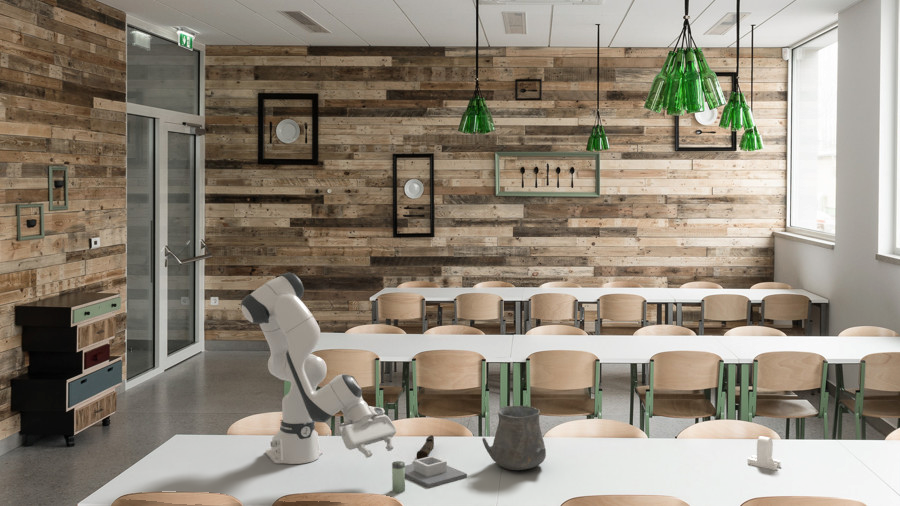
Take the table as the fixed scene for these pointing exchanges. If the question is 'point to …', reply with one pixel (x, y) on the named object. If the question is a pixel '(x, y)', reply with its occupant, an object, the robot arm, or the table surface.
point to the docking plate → (432, 472)
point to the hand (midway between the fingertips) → (380, 453)
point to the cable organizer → (764, 454)
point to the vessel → (517, 439)
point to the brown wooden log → (426, 448)
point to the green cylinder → (398, 476)
